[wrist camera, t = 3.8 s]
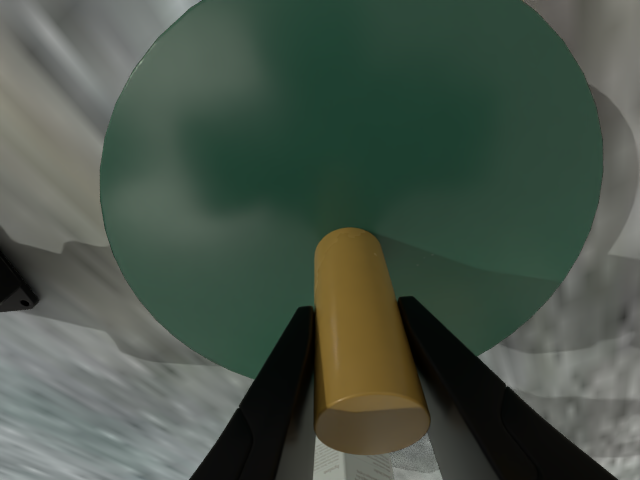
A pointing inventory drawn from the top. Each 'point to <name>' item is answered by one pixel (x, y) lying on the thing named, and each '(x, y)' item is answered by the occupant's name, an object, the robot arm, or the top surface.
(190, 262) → the lid
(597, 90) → the top surface
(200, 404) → the top surface
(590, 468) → the robot arm
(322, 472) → the product box
